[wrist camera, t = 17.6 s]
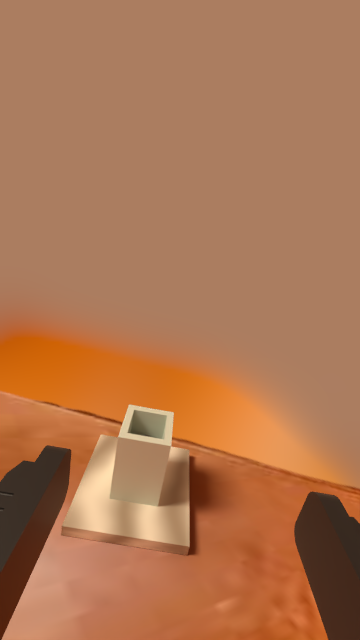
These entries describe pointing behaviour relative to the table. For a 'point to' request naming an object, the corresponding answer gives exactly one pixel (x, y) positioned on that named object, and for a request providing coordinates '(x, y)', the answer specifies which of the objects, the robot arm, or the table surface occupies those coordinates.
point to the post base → (131, 506)
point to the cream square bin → (142, 455)
